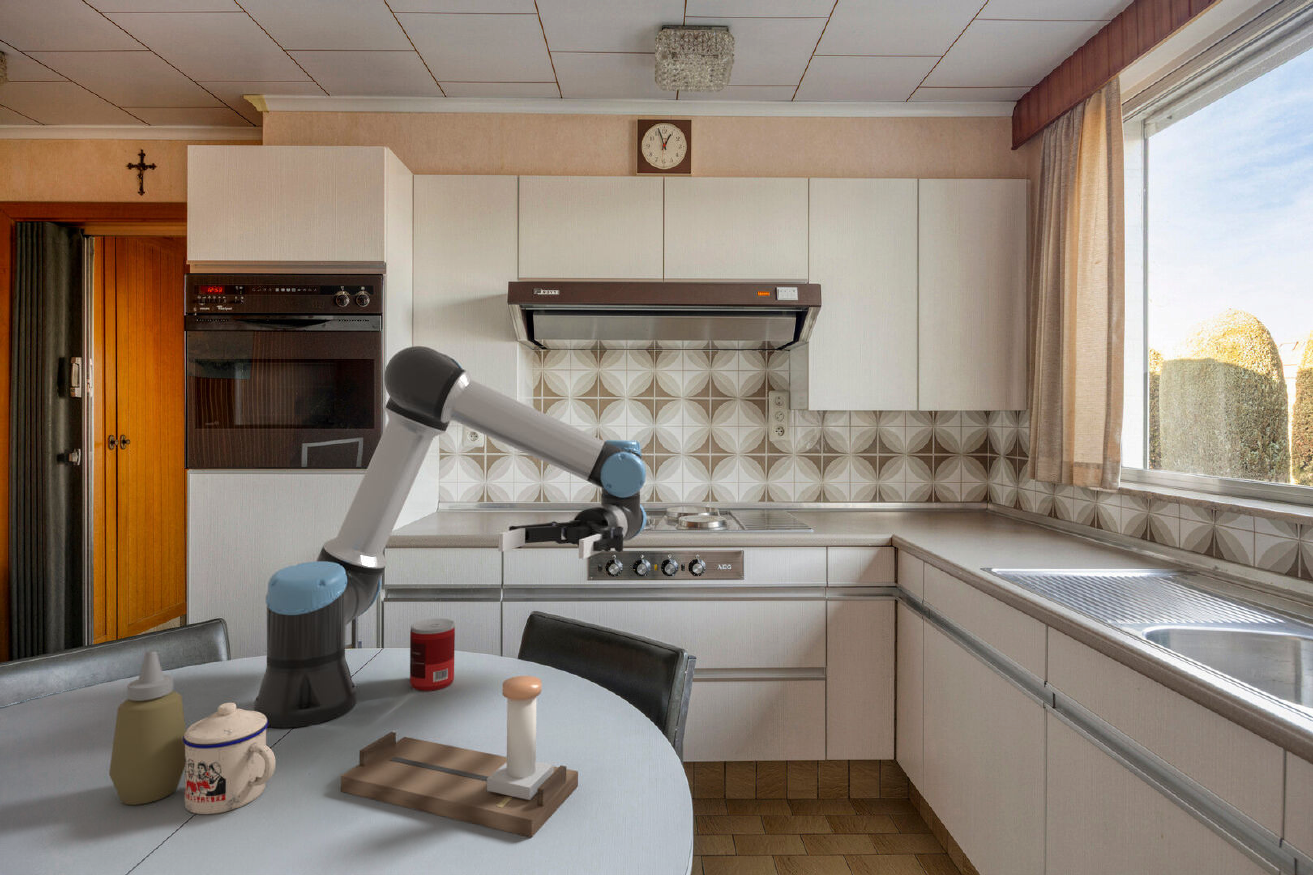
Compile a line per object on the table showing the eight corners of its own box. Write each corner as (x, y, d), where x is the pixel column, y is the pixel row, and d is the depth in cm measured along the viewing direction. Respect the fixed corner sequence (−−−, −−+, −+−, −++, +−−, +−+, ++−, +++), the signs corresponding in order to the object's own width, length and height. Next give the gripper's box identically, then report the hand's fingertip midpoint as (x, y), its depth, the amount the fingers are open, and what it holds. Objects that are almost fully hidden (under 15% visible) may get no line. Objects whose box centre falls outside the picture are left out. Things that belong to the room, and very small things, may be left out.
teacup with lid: (163, 809, 82) (164, 714, 82) (230, 773, 91) (231, 687, 91) (240, 827, 79) (240, 728, 79) (301, 788, 87) (302, 698, 87)
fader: (486, 790, 83) (488, 687, 83) (512, 767, 89) (514, 671, 89) (529, 799, 81) (531, 694, 81) (553, 776, 87) (554, 677, 87)
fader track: (340, 791, 87) (340, 760, 87) (404, 750, 98) (404, 722, 98) (531, 837, 78) (532, 802, 78) (577, 786, 89) (578, 756, 89)
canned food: (460, 676, 128) (461, 618, 128) (443, 692, 120) (444, 631, 120) (421, 674, 129) (422, 617, 128) (402, 690, 121) (402, 629, 120)
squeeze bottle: (125, 818, 80) (126, 668, 80) (97, 798, 84) (98, 655, 84) (200, 788, 87) (201, 649, 87) (171, 771, 91) (172, 639, 91)
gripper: (664, 554, 116) (616, 578, 96) (537, 543, 125) (468, 563, 105) (665, 510, 116) (617, 526, 96) (538, 503, 125) (469, 515, 105)
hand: (539, 545), depth 100 cm, fingers open, 13 cm apart
